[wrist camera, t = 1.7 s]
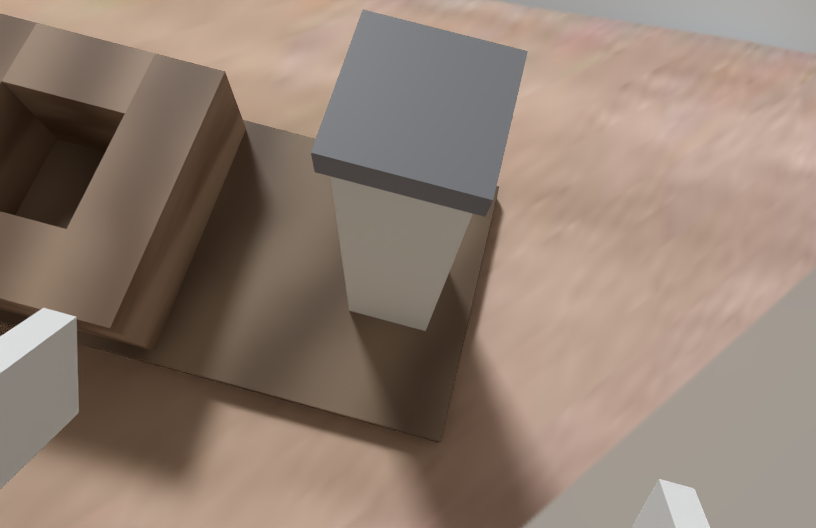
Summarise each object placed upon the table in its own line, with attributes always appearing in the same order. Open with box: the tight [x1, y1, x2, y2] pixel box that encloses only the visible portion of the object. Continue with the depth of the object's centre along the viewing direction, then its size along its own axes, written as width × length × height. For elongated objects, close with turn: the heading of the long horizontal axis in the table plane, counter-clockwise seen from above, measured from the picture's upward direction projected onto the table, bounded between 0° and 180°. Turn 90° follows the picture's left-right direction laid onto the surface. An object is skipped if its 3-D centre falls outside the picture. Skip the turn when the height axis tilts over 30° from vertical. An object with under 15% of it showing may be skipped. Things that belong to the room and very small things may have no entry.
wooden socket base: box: [0, 14, 499, 442], centre depth 28 cm, size 29×14×6 cm, turn 75°
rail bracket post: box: [311, 10, 528, 331], centre depth 22 cm, size 5×5×16 cm
